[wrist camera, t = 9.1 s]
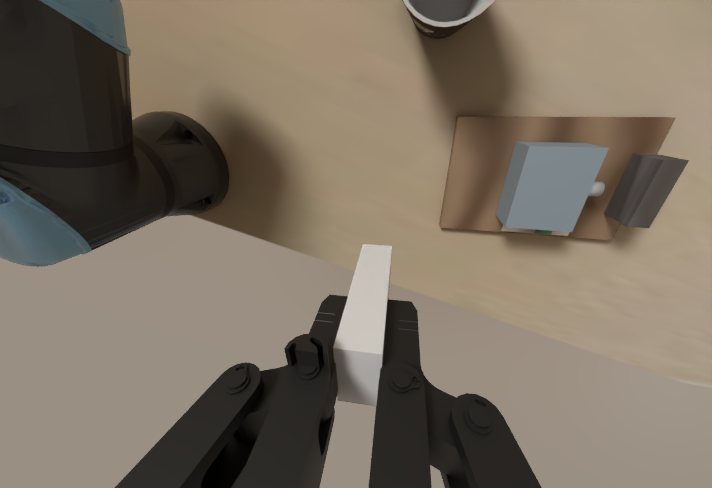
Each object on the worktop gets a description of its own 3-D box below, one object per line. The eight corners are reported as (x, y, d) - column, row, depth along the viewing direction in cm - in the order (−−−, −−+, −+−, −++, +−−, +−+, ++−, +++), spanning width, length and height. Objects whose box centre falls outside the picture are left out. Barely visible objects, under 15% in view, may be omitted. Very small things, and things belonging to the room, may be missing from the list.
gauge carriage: (492, 227, 34) (501, 240, 31) (515, 141, 29) (529, 146, 26) (567, 232, 33) (585, 247, 29) (606, 143, 28) (633, 148, 24)
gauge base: (439, 224, 37) (442, 240, 33) (457, 116, 30) (464, 118, 26) (605, 236, 33) (634, 256, 29) (667, 117, 27) (715, 119, 22)
